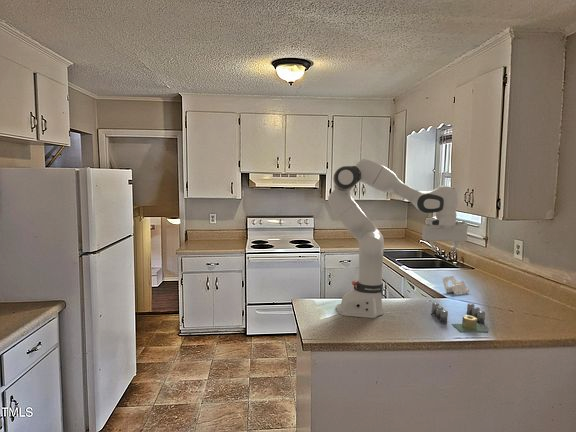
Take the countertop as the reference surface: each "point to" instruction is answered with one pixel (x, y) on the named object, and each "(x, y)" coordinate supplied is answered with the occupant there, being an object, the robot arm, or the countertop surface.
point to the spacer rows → (471, 311)
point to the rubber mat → (462, 329)
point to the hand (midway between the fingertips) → (443, 250)
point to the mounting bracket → (455, 286)
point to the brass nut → (469, 322)
